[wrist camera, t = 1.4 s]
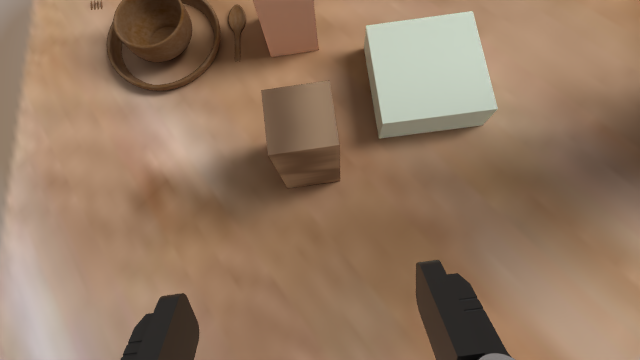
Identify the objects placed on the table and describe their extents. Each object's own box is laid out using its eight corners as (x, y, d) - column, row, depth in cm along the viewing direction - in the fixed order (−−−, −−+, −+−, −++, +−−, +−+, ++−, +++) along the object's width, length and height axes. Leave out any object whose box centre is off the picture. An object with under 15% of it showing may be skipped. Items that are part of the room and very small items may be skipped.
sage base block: (459, 37, 39) (472, 11, 35) (481, 126, 37) (497, 108, 33) (363, 50, 40) (366, 25, 36) (378, 139, 37) (382, 123, 33)
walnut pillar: (332, 131, 37) (329, 80, 27) (340, 180, 36) (339, 144, 26) (282, 139, 37) (261, 90, 28) (287, 188, 36) (267, 155, 26)
